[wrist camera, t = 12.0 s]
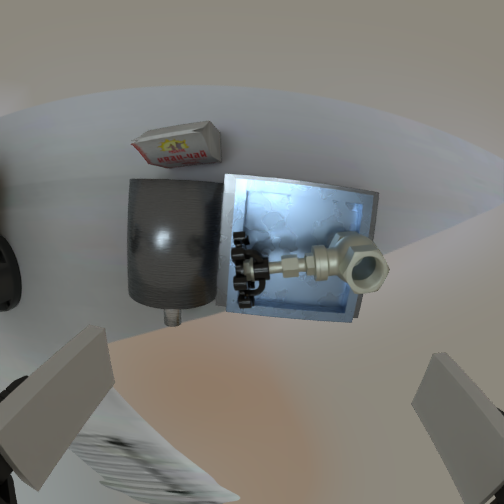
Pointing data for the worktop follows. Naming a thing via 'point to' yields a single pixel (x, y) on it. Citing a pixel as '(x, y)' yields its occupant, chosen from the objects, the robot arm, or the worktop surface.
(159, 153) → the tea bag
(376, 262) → the valve
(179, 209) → the motor
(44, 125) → the worktop surface
